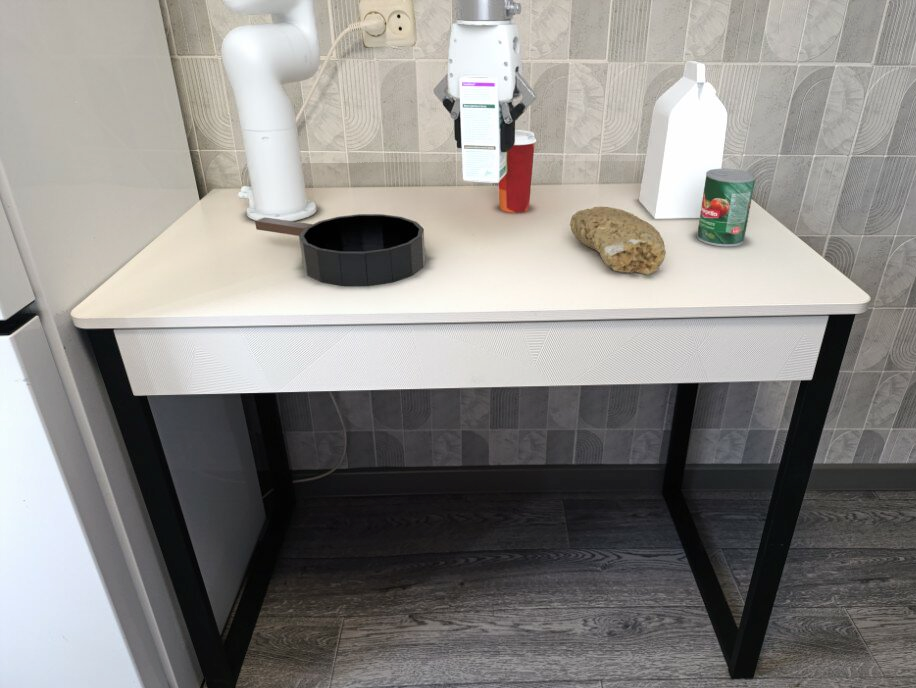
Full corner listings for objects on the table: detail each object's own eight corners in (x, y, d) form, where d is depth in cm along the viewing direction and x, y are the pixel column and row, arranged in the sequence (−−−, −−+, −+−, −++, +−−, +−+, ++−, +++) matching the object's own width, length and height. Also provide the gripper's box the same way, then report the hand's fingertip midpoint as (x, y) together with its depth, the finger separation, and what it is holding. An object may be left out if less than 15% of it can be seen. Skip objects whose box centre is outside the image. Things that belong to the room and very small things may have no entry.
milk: (638, 200, 139) (654, 58, 126) (695, 199, 140) (716, 58, 127) (654, 218, 129) (673, 66, 116) (715, 217, 130) (740, 66, 117)
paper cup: (541, 206, 135) (544, 131, 128) (521, 216, 129) (522, 138, 122) (507, 200, 139) (508, 127, 132) (486, 209, 133) (485, 133, 126)
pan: (225, 265, 107) (219, 234, 104) (298, 230, 122) (294, 202, 119) (387, 294, 98) (384, 260, 95) (444, 252, 113) (443, 222, 110)
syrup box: (499, 183, 102) (500, 77, 95) (460, 181, 103) (458, 75, 96) (507, 174, 107) (508, 72, 100) (470, 172, 108) (468, 71, 101)
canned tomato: (752, 238, 119) (764, 174, 114) (730, 250, 114) (742, 183, 109) (710, 228, 124) (720, 166, 118) (687, 239, 119) (697, 174, 113)
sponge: (671, 283, 105) (644, 217, 120) (671, 239, 100) (643, 176, 114) (585, 298, 106) (569, 231, 121) (580, 255, 101) (564, 190, 115)
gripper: (553, 12, 94) (547, 148, 103) (438, 9, 100) (443, 139, 109) (534, 14, 88) (530, 159, 97) (414, 11, 94) (420, 148, 103)
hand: (484, 147), depth 103 cm, fingers closed on syrup box, 6 cm apart
